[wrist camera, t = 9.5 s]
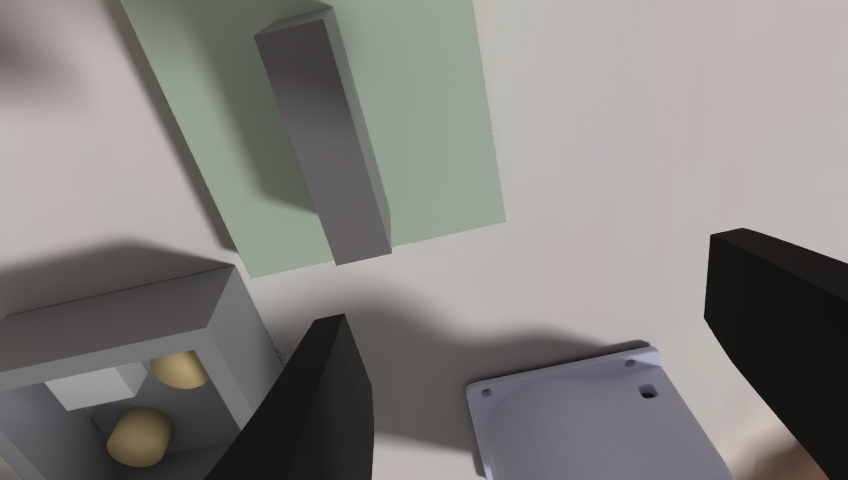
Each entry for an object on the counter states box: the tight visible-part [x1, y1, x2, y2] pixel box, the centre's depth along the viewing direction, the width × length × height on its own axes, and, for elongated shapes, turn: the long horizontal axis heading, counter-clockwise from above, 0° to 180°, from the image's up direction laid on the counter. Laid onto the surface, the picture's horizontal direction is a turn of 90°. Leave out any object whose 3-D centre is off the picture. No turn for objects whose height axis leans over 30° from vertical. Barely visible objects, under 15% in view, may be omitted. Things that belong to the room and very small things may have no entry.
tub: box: [0, 266, 284, 480], centre depth 22 cm, size 10×10×4 cm
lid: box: [120, 0, 506, 279], centre depth 17 cm, size 10×10×5 cm
